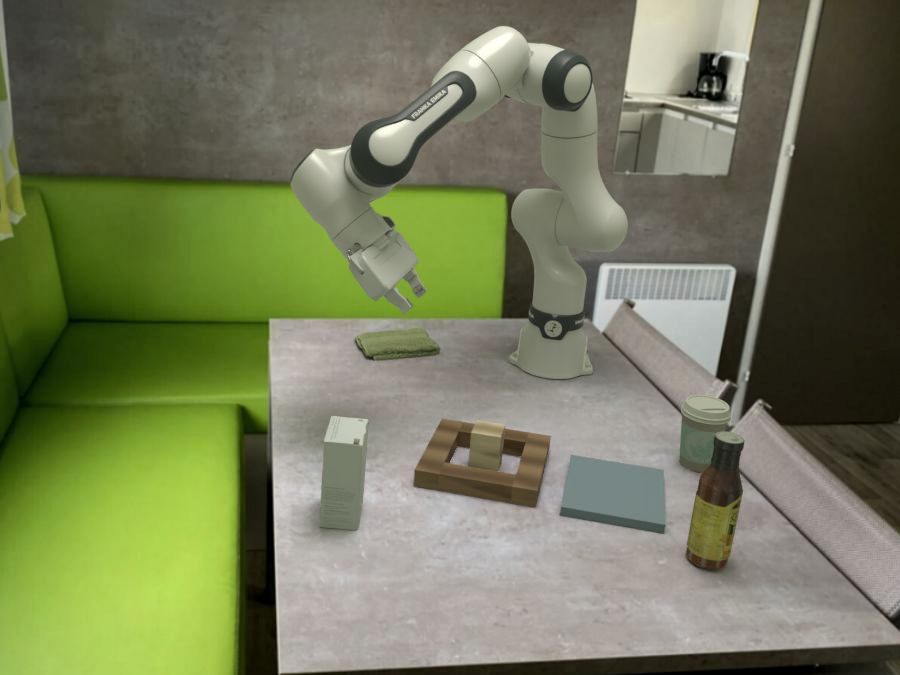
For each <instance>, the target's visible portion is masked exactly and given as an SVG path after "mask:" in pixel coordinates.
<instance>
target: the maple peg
mask: <svg viewBox="0 0 900 675" xmlns="http://www.w3.org/2000/svg"><path fill="white" fill-rule="evenodd" d="M474 424H475V425H474V427H473V430H472V432H471V440H470V448H469V454H468V464H467V466H468V467H474V468H480V469H486V470H492V471H499V472H500V468H501V465H502V461H503V460H502V459H503V454H502V453H503V443H504V433H505V429H506V424H503V423H497V422H491V421H484V420H478V419H477V420H475V422H474Z"/></svg>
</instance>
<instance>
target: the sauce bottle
mask: <svg viewBox="0 0 900 675" xmlns="http://www.w3.org/2000/svg"><path fill="white" fill-rule="evenodd" d="M713 443H714V450H713V455H712V458H711V464H710V465H709V466H708V467H707V468H706V469H705V470H704V471H703V472H701V473H700V475H699V478H698V479H699V480H698V487H697V490H696V492H695V496H694V502H693V507H692V513H691V519H690V523H689V529H688V530H689V531H688V534H687V535H688V536H687V541H686V550H685V553H686V554H685V555H686V558H687V559H688V560H689V561H690V562H691V564H693V565H695V566H698V567H699V568H701V569H707V570H714V571H716V570H717V571H718V570H720V569H723V568H725V566H726V565H727V564H728V562H729V558H730V557H731V552H732V549H733V544H734V543H733V542H734V538H735V533H736V529H737V523H738V521H739V520H738V519H739V514H740V509H741V503H742V497H743V492H744V489H743V485H742V480H741V473H740V460H741V456H742V451H743V450H744V447H745V439H744V437H743V436H741V435H740V434H738V433H735V432H732V431H727V430H725V431H722V432H718V433H716V434H715V437H714V442H713Z"/></svg>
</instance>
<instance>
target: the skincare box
mask: <svg viewBox="0 0 900 675" xmlns="http://www.w3.org/2000/svg"><path fill="white" fill-rule="evenodd" d="M368 432H369V419H368V418H359V417H349V416H348V417H345V416H339V415H331V416H330V419H329V423H328V425H327V428H326V432H325V436H324V438H323V448H322V449H323V451H322V456H323V457H322V471H321V488H320V490H321V491H320V509H319V527H320V528H327V529H335V530H336V529H338V530H349V531H358V530H359V527H360V526H359V525H360V523H361V521H360V520H361V517H362V511H363V503H364V496H365V495H364V493H365V482H366V481H365V478H366V466H367V465H366V464H367V451H368V436H369V434H368Z"/></svg>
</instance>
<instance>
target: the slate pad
mask: <svg viewBox="0 0 900 675" xmlns="http://www.w3.org/2000/svg"><path fill="white" fill-rule="evenodd" d="M664 471H665V470H664V469H661V468H656V467H655V468H654V467H649V466H642V465H637V464H631V463H624V462H619V461H612V460H608V459H607V460H605V459H601V458H600V459H599V458H594V457H589V456H588V457H587V456H583V455H582V456H581V455H575V454H570V458H569V463H568V469H567V473H566V479H565V484H564V490H563V495H562V496H563V497H562V501H561V508H560V513H559V514H560V516H563V517H568V518H569V517H570V518H575V519H581V520H587V521H592V522H593V521H594V522H597V523H604V524H609V525H614V526H621V527H625V528H632V529H637V530H644V531H648V532H654V533H655V532H656V533H661V534H665V530H666V506H665V505H666V502H665V501H666V499H665V472H664Z"/></svg>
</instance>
